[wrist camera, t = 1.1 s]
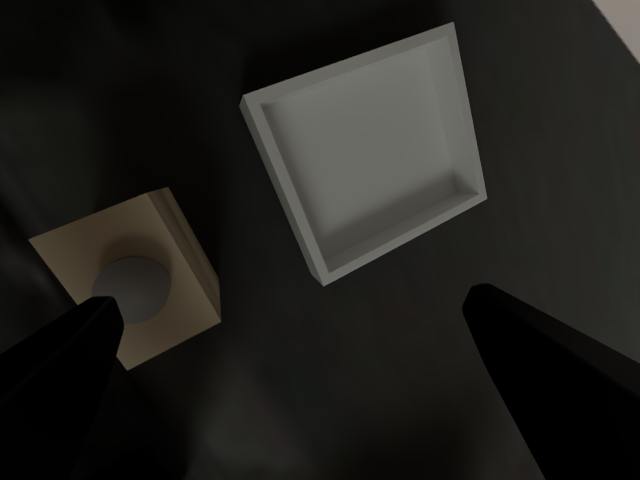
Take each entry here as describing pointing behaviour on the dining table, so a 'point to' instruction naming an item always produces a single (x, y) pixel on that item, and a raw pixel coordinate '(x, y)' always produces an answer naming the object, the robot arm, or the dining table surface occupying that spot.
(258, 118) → the housing tray
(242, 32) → the dining table surface
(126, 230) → the brown block
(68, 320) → the robot arm
